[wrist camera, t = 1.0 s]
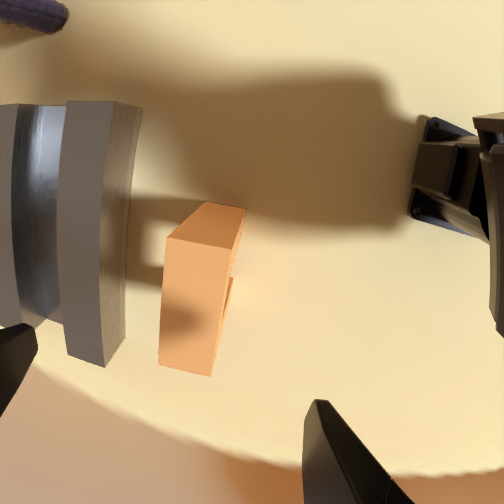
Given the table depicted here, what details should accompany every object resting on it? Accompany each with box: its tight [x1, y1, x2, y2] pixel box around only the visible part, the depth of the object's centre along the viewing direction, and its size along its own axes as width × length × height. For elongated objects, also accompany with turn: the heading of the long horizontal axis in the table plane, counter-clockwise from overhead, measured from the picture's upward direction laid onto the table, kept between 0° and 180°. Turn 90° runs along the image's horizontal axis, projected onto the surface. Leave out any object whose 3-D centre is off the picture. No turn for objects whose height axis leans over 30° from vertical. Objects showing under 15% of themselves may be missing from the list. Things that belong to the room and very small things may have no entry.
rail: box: [0, 101, 142, 368], centre depth 17 cm, size 10×16×4 cm, turn 169°
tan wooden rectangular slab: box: [158, 202, 246, 377], centre depth 16 cm, size 2×6×8 cm, turn 169°
